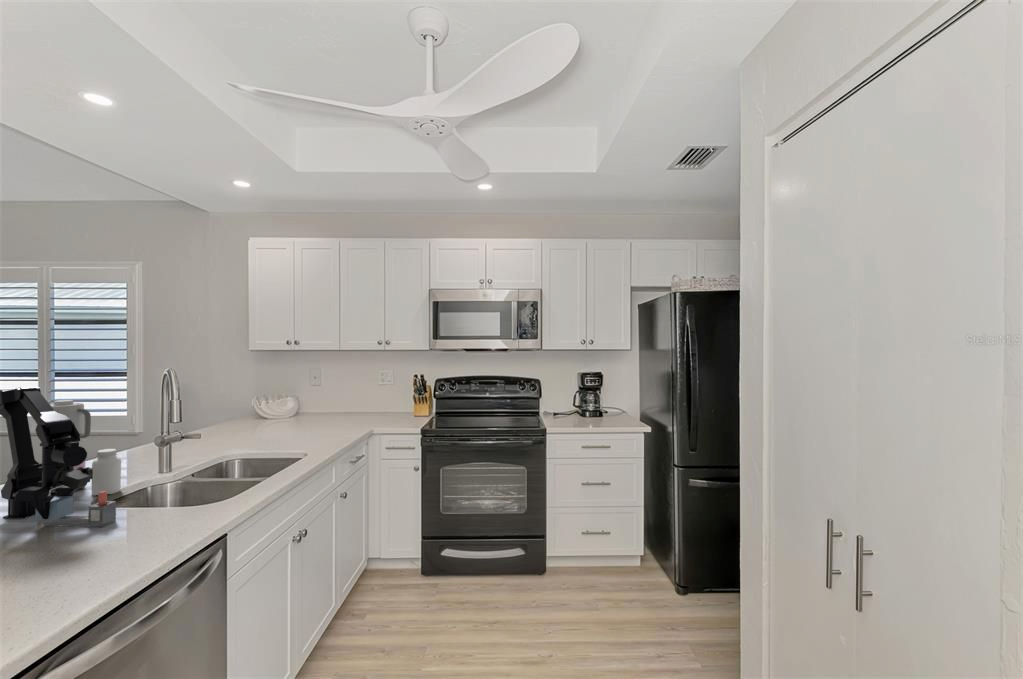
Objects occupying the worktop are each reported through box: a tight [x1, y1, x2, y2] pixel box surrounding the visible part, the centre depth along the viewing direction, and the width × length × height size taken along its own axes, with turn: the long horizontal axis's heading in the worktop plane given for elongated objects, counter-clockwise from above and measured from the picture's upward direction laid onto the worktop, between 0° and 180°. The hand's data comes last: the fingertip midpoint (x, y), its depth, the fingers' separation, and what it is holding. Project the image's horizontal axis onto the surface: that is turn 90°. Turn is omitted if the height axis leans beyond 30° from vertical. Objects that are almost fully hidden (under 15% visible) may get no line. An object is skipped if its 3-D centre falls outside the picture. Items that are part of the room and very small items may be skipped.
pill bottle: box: [90, 448, 122, 496], centre depth 173 cm, size 8×8×15 cm
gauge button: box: [97, 491, 108, 505], centre depth 144 cm, size 2×2×5 cm
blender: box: [39, 399, 92, 493], centre depth 174 cm, size 16×12×32 cm
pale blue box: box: [34, 495, 74, 521], centre depth 144 cm, size 6×5×5 cm
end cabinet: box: [87, 500, 117, 529], centre depth 144 cm, size 4×5×6 cm
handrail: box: [43, 515, 88, 527], centre depth 144 cm, size 13×2×2 cm, turn 93°
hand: (54, 515), depth 144 cm, fingers closed on pale blue box, 5 cm apart
